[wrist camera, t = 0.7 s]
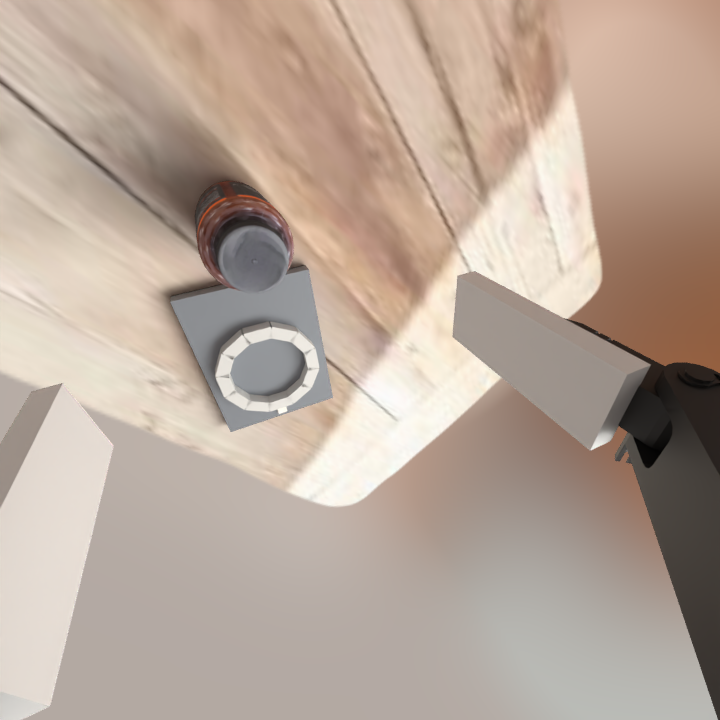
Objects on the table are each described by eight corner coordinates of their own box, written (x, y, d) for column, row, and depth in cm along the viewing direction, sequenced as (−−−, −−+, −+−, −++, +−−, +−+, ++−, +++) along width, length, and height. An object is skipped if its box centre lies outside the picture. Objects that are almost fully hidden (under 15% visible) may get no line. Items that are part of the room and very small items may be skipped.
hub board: (170, 296, 29) (169, 307, 28) (305, 265, 32) (312, 273, 31) (229, 424, 39) (231, 439, 37) (329, 391, 42) (336, 403, 40)
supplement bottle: (192, 248, 28) (190, 302, 19) (198, 168, 25) (200, 189, 17) (265, 262, 31) (293, 315, 22) (278, 192, 28) (315, 221, 20)
